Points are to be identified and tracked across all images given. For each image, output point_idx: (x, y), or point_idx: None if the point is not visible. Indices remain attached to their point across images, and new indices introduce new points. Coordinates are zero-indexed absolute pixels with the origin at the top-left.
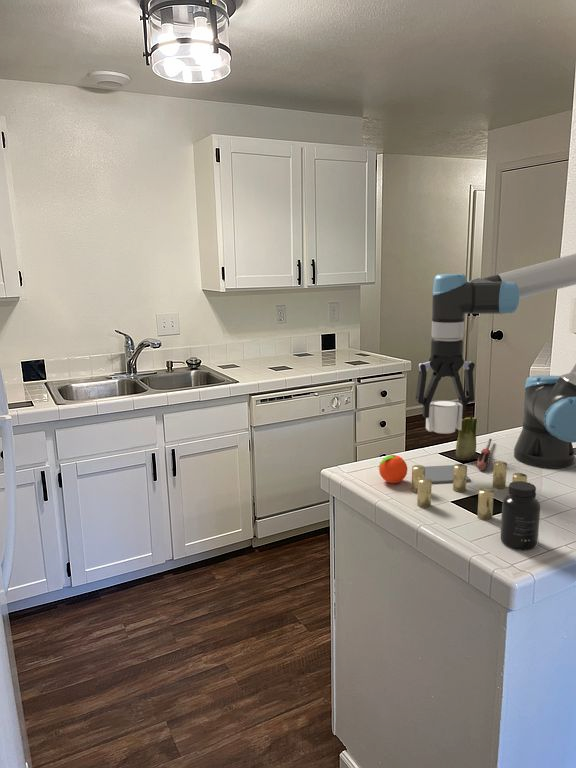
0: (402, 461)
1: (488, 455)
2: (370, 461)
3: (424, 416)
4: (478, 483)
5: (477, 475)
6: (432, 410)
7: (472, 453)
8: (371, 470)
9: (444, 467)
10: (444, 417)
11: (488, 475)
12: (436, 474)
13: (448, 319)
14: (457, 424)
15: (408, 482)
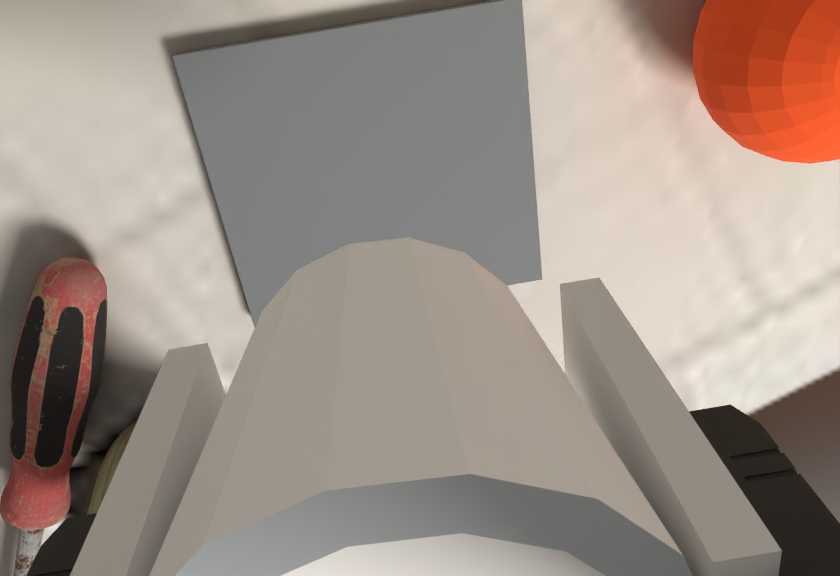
0: (809, 8)
1: (11, 439)
2: (784, 381)
3: (751, 420)
4: (116, 15)
5: (116, 179)
6: (680, 487)
7: (123, 442)
8: (831, 239)
9: None
10: (444, 346)
11: (33, 182)
12: (422, 147)
13: None
14: (208, 423)
15: (648, 23)
